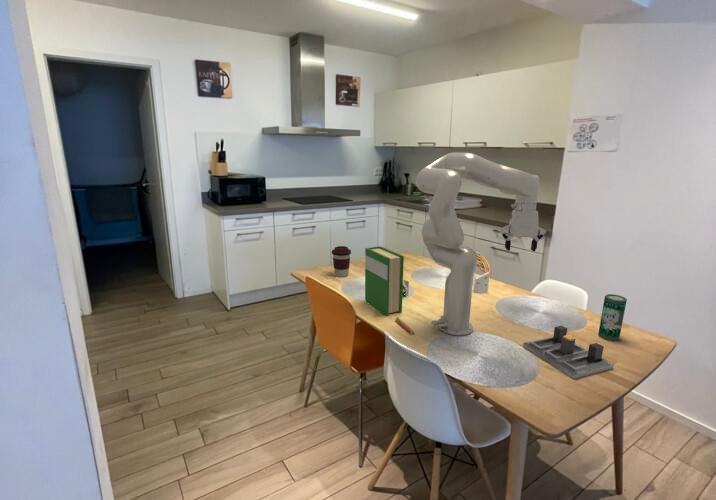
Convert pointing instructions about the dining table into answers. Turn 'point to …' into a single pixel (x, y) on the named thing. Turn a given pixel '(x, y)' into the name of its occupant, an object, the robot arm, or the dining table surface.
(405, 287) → the architectural model
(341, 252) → the coffee cup
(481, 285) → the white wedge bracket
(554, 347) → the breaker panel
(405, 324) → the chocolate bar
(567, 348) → the block
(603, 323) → the can
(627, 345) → the dining table surface
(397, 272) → the hardback book
